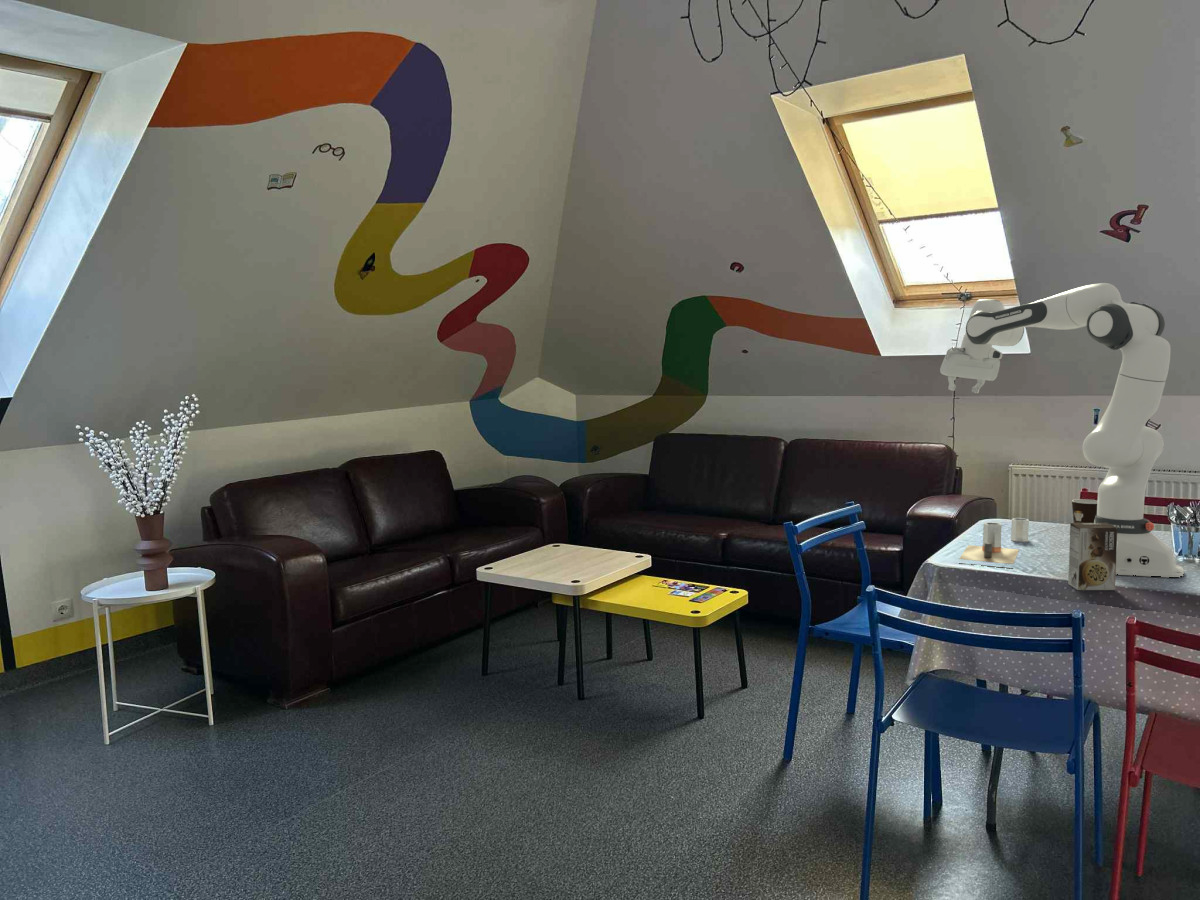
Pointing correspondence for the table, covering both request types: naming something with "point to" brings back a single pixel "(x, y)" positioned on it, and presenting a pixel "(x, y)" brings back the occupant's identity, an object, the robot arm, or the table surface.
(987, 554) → the pin board
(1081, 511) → the coffee mug
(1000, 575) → the table surface
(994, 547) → the sleeve
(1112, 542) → the coffee box
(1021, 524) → the steel sleeve
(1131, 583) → the table surface
